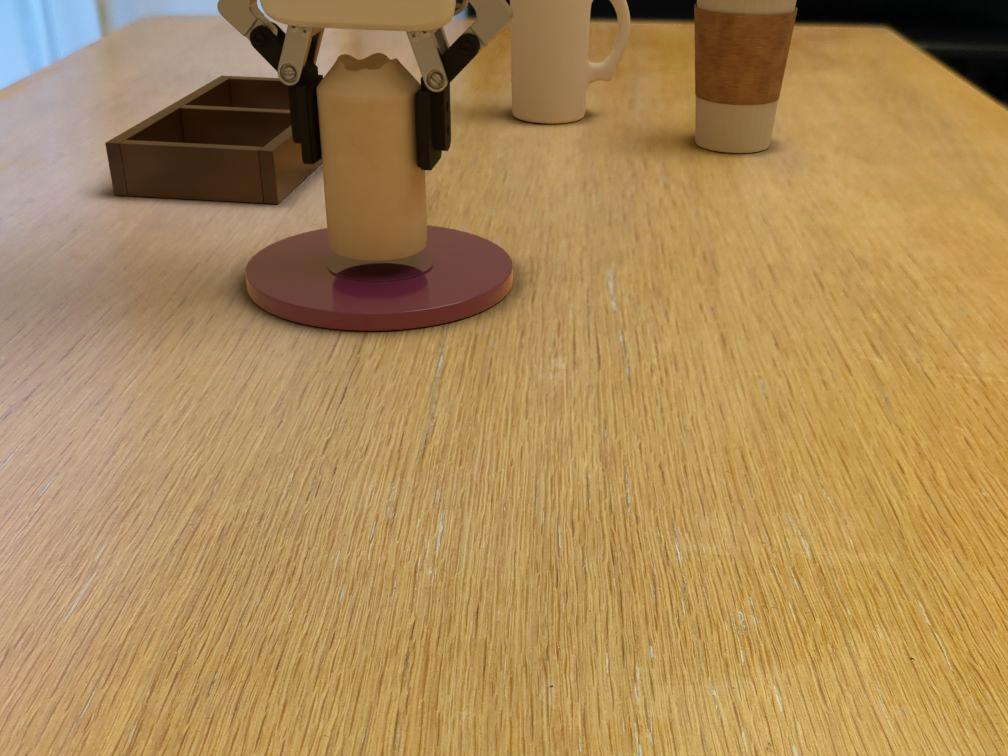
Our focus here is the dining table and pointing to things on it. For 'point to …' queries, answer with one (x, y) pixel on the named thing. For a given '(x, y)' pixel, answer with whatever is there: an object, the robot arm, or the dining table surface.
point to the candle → (371, 159)
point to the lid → (379, 282)
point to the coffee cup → (739, 71)
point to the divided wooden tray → (213, 146)
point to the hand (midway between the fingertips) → (373, 157)
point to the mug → (558, 58)
